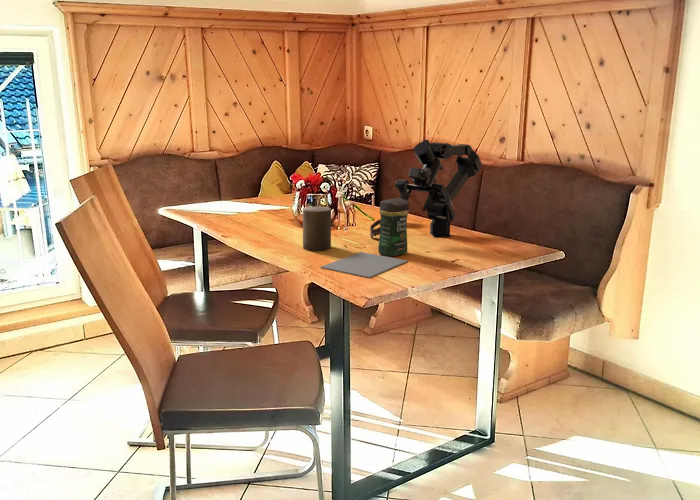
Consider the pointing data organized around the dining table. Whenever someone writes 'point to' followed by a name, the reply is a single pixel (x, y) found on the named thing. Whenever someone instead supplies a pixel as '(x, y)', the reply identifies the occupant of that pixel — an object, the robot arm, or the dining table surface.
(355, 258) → the mat
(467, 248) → the dining table surface
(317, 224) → the pillar candle
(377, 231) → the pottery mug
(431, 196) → the robot arm
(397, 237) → the coffee jar
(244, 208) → the dining table surface
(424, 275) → the dining table surface
